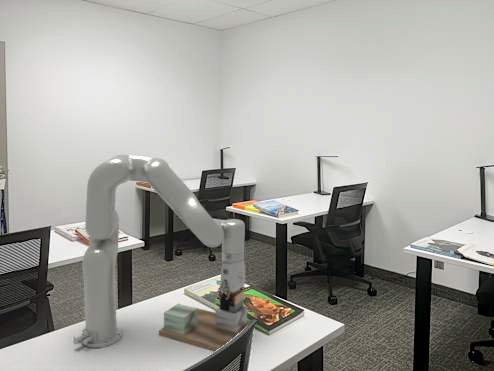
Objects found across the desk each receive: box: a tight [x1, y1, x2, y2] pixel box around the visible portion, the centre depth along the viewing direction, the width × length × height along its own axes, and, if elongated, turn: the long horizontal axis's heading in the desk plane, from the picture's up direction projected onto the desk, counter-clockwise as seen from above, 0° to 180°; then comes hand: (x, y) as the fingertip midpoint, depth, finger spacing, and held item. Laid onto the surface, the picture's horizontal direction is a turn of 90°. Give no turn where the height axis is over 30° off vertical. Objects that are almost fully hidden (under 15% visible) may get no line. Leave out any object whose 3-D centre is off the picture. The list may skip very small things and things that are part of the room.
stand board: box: [158, 303, 252, 352], centre depth 145 cm, size 21×24×8 cm
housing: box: [219, 289, 245, 313], centre depth 145 cm, size 6×6×7 cm
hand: (231, 304), depth 145 cm, fingers open, 9 cm apart
